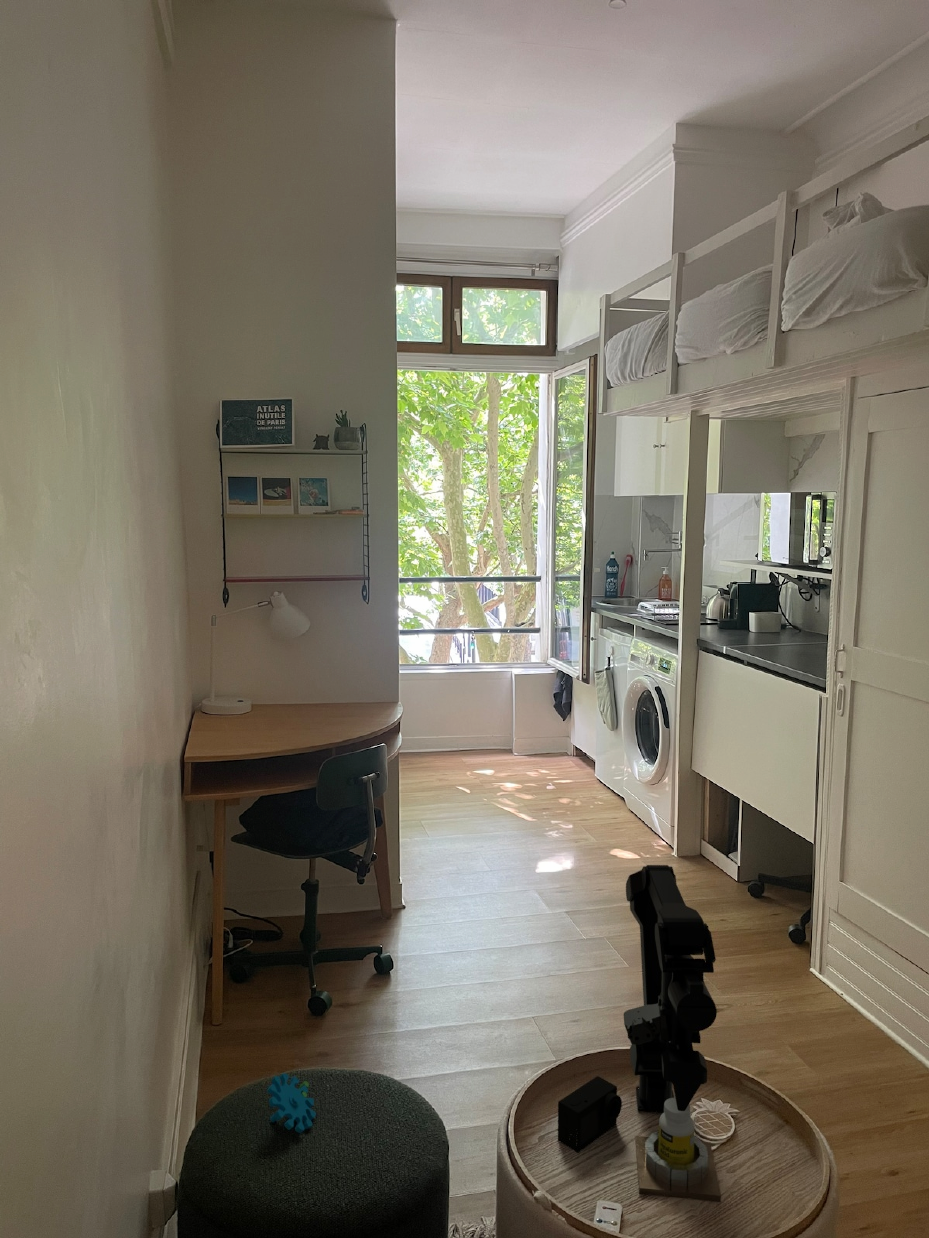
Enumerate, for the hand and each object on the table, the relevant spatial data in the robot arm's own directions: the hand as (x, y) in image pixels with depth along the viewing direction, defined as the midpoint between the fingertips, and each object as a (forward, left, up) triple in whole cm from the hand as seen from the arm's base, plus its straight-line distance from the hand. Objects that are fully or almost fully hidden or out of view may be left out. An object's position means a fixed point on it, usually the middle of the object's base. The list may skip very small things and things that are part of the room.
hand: (678, 1091), depth 140 cm
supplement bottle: (0, 0, -12) cm, 12 cm away
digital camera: (-7, -13, -13) cm, 20 cm away
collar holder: (0, 0, -13) cm, 13 cm away
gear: (-3, -64, -13) cm, 65 cm away
